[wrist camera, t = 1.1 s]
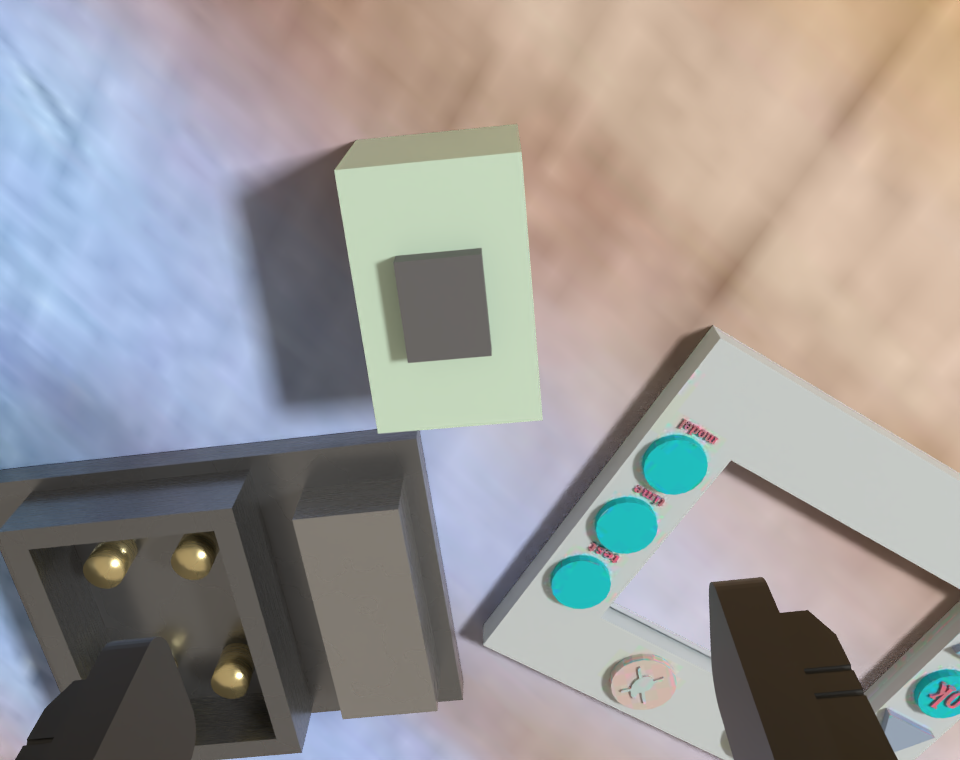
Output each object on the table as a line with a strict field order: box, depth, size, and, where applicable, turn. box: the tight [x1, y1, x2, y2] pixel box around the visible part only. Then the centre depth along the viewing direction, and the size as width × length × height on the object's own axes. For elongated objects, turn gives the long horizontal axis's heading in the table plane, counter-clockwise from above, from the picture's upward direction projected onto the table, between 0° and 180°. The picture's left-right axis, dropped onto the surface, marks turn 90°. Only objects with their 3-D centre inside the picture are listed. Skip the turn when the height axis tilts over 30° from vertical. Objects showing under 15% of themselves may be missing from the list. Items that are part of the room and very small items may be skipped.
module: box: [334, 124, 543, 434], centre depth 27 cm, size 8×5×5 cm, turn 6°
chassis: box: [0, 430, 463, 760], centre depth 34 cm, size 12×16×4 cm
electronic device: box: [483, 326, 960, 760], centre depth 35 cm, size 18×2×15 cm
